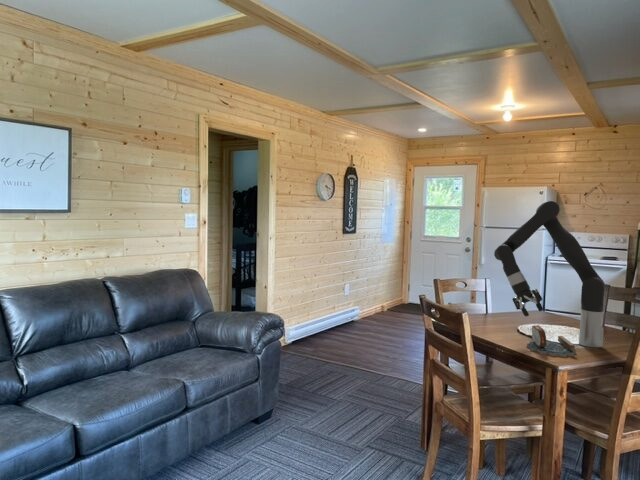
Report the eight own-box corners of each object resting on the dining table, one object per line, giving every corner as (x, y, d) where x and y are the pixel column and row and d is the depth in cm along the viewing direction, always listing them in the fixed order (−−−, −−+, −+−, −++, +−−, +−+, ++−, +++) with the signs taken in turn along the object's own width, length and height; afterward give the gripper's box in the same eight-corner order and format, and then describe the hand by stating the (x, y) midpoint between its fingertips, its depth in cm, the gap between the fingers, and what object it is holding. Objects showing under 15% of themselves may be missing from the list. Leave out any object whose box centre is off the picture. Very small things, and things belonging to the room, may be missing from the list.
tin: (546, 349, 210) (547, 331, 210) (539, 349, 211) (539, 330, 210) (537, 340, 225) (537, 323, 225) (530, 340, 226) (530, 323, 225)
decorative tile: (517, 347, 221) (518, 342, 221) (547, 343, 229) (548, 339, 229) (553, 360, 203) (554, 355, 203) (585, 356, 211) (585, 350, 211)
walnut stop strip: (562, 341, 224) (562, 336, 224) (574, 350, 208) (574, 345, 208) (557, 340, 224) (558, 335, 224) (569, 350, 209) (570, 345, 208)
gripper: (534, 276, 225) (550, 307, 221) (512, 285, 237) (527, 315, 232) (524, 279, 221) (541, 311, 217) (502, 289, 233) (518, 319, 229)
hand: (534, 313), depth 225 cm, fingers open, 8 cm apart
